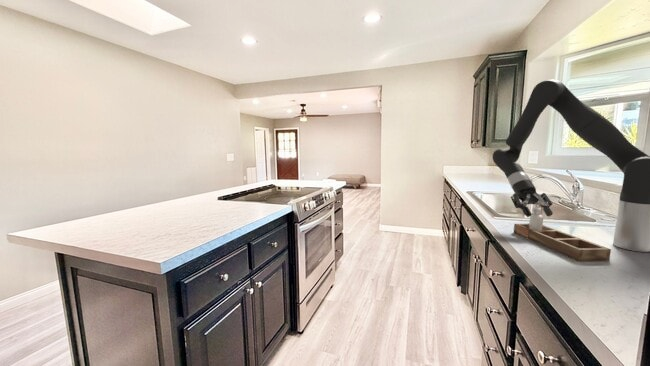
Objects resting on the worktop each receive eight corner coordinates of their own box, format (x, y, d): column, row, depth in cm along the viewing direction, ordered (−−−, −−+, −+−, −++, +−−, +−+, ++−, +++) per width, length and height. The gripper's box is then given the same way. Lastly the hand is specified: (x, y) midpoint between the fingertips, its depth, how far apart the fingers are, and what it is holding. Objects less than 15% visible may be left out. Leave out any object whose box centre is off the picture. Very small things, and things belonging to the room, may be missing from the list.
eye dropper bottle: (541, 232, 109) (544, 204, 107) (541, 236, 105) (544, 207, 103) (528, 230, 112) (531, 203, 110) (527, 233, 107) (530, 205, 106)
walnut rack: (537, 232, 113) (538, 223, 113) (609, 260, 85) (611, 249, 84) (512, 232, 113) (513, 223, 113) (577, 261, 85) (578, 249, 84)
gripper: (510, 179, 112) (528, 211, 102) (542, 178, 112) (564, 210, 103) (500, 189, 118) (517, 220, 108) (531, 188, 118) (550, 220, 109)
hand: (539, 215), depth 105 cm, fingers open, 8 cm apart
